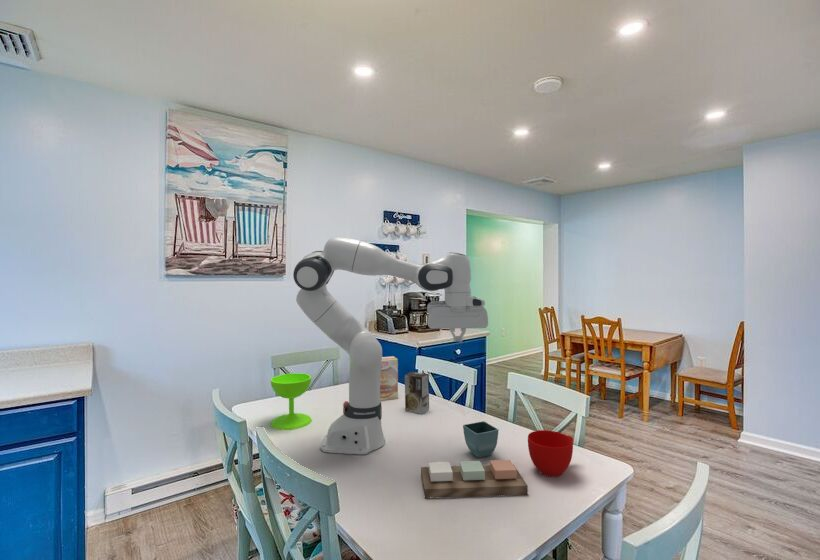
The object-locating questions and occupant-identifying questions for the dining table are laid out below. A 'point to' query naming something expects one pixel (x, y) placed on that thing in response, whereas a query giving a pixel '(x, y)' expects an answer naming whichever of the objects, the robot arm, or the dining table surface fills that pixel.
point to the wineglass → (291, 399)
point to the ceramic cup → (550, 451)
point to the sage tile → (471, 470)
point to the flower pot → (480, 438)
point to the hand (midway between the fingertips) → (457, 341)
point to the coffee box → (417, 392)
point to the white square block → (440, 472)
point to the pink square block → (503, 469)
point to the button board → (472, 485)
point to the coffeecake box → (389, 378)
